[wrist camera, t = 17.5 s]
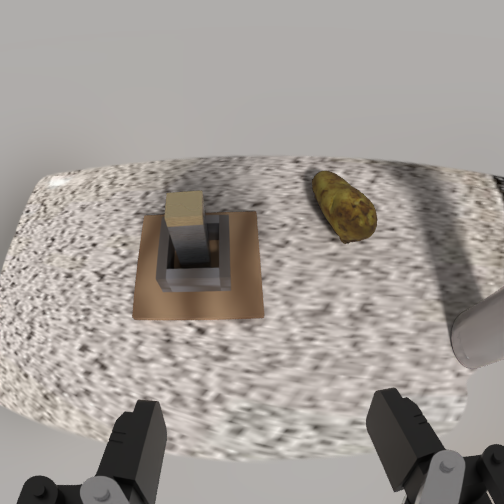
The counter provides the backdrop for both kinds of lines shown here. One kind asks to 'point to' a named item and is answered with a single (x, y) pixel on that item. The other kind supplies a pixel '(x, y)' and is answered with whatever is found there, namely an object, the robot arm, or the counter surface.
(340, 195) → the potato
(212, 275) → the well board
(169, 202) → the tall square pillar
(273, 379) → the counter surface
